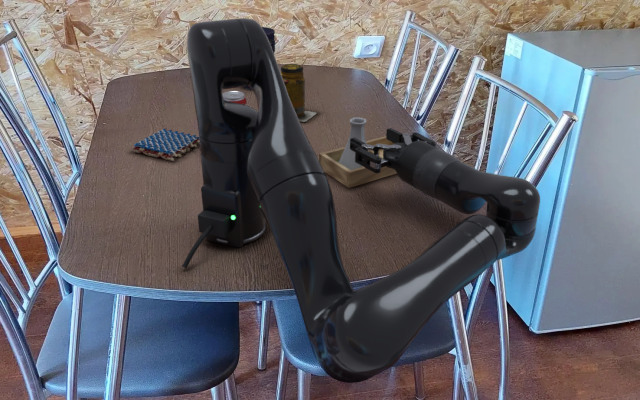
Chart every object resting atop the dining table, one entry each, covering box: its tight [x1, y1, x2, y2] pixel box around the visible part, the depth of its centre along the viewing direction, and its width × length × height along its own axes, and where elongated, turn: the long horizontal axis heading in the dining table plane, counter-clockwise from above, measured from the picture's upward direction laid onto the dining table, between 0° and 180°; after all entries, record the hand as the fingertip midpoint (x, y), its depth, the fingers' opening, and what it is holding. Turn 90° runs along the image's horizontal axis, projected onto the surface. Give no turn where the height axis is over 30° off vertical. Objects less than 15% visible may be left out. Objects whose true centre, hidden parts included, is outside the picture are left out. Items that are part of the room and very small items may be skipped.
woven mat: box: [132, 128, 200, 162], centre depth 119 cm, size 10×11×2 cm
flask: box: [339, 117, 369, 170], centre depth 108 cm, size 7×7×10 cm
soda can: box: [222, 90, 248, 106], centre depth 117 cm, size 5×5×12 cm
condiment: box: [280, 63, 317, 123], centre depth 136 cm, size 7×8×12 cm
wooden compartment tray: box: [318, 135, 398, 189], centre depth 113 cm, size 10×19×3 cm, turn 124°
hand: (370, 137), depth 104 cm, fingers open, 8 cm apart
